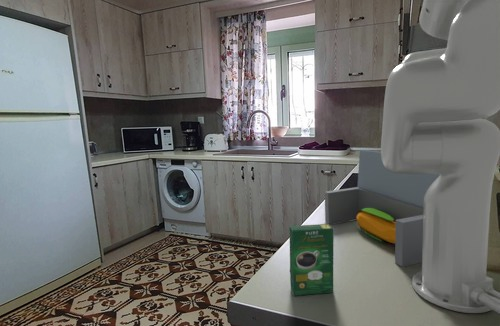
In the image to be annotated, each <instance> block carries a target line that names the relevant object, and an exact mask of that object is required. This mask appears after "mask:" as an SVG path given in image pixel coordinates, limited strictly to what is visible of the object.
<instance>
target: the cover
mask: <svg viewBox="0 0 500 326" xmlns="http://www.w3.org/2000/svg"><path fill="white" fill-rule="evenodd" d="M439 176H440V174H402V173H394V172H391V171H389V170H388V169H386V168H385V166H384V164H383V162H382V158H381V151H372V150H366V149H359V157H358V174H357V186H356V187H359V188H362V189H365V190H369V191H372V192H375V193H378V194H382V195H385V196H388V197H391V198H395V199H398V200H401V201H404V202H408V203H411V204H414V205H417V206H421V207H423V206H424V196H425V194H426V191H427V190H428V188H429V187H430V186H431V184H432V183H433V182H434V181H435V180H436V179H437V178H438V177H439Z"/></svg>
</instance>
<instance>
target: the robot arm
mask: <svg viewBox="0 0 500 326" xmlns="http://www.w3.org/2000/svg"><path fill="white" fill-rule="evenodd" d="M418 21H419V22H418V23H419V25H420V28H421V29H422V31H423V32H425V33H426V34H427V35H429V36H430V37H432V38H433V37H434V38H437V39H439V40H440V39H441V40H444V41H447V45H446V47H445V48H437V49H431V50H430V49H429V50H422V51H421V50H420V51H414V52H410V53H409V54H407V55H406V56H405V57H404V60H402V62H401V63H400V64H398V65H397V66H396V67H395V68H394V69H392V71H391V72H390V74H389V76H388V77H387V78H388V79H387V81H386V86H385V91H384V92H385V93H384V100H383V114H382V129H381V141H380V152H381V158H382V162H383V164H384V166H385V168H386V169H388V170H389V171H391V172H394V173H402V174H440V176H439V177H438V178H437V179H436V180H435V181H434V182H433V183H432V184H431V186H430V187H429V188H428V190H427V191H426V194H425V196H424V206H423V247H422V262H421V270H419V271H418V272H416V273H415V274H413V276H412V278H411V279H412V282H411V283H412V284H411V285H412V287H413V289H414V291H415V292H416V293H417V294H418V295H419V296H420V297H422V299H424V300H426V301H428V302H430V303H431V304H434V305H436V306H438V307H441V308H444V309H446V310H450V311H454V312H459V313H464V314H465V313H466V314H483V313H486V312H489V311H494V312H495V313H497V314H499V315H500V292H498V291H496V290H495V288H494V278H491V276H490V277H489V276H487V268H488V267H487V266H488V265H487V264H488V251H489V249H488V247H489V230H490V214H491V213H490V212H491V200H492V191H493V183H494V177H495V173H496V170H497V165H498V162H499V159H500V128H499V127H498V126H497V125H496V124H495V123H494V122H492V121H490V120H487V119H485V118H489V117H491V116H493V115H495V114H496V113H498V112H499V111H500V0H423V2H422V6H421V11H420V14H419V20H418Z"/></svg>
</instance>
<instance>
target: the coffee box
mask: <svg viewBox="0 0 500 326" xmlns="http://www.w3.org/2000/svg"><path fill="white" fill-rule="evenodd" d="M334 232H335V231H334V227H333V226H332V225H331V224H327V223H320V224H319V223H318V224H307V225H306V224H303V225H301V224H300V225H289V273H290V274H289V275H290V276H289V278H290V279H289V281H290V290H291V293H292V295H293V297H295V296H305V295H320V294H323V295H324V294H329V293H330V294H331V293H334V246H335V245H334Z"/></svg>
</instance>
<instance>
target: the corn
mask: <svg viewBox="0 0 500 326" xmlns="http://www.w3.org/2000/svg"><path fill="white" fill-rule="evenodd" d="M356 219H357V220H356V224H357V226H358V227H359V228H360V229H361V230H362V231H363V232H364V233H365V234H367V235H368V236H370V237H371V238H374V239H375V240H377V241H380V242H382V243H383V244H386V242H388V243H391V244H394V245H395V228H396V222H395V220H394V219H393V218H392V217H391V216H390V215H388V214H387V213H385V212H384V211H381V210H378V209H374V208H364V209H362V210H360V211H359V212H358V215H357V217H356ZM384 241H385V242H384Z"/></svg>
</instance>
